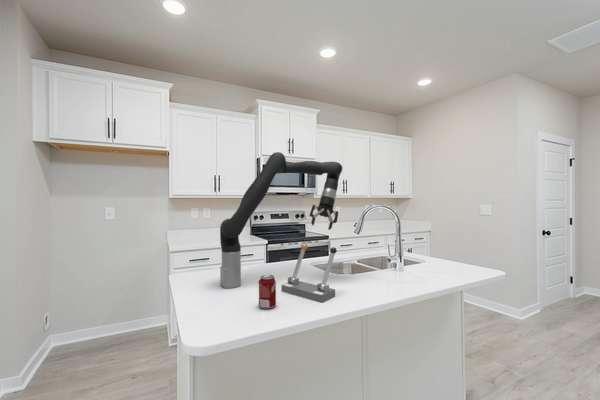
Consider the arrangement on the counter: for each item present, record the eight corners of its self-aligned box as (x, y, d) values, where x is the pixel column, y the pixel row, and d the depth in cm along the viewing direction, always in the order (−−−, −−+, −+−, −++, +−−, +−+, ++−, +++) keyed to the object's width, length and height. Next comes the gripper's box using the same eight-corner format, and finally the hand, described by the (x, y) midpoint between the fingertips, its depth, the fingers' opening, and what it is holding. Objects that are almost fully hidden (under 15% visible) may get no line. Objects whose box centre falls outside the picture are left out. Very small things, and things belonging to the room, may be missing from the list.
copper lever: (291, 283, 134) (304, 244, 142) (296, 284, 132) (309, 245, 140) (288, 281, 132) (301, 242, 140) (293, 282, 130) (305, 243, 138)
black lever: (321, 290, 123) (333, 248, 131) (326, 291, 121) (338, 249, 129) (317, 288, 121) (329, 245, 129) (323, 289, 119) (335, 246, 127)
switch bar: (295, 286, 138) (295, 274, 138) (335, 296, 124) (335, 283, 124) (281, 291, 131) (281, 279, 130) (322, 302, 116) (322, 288, 116)
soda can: (268, 311, 108) (268, 279, 108) (255, 307, 111) (255, 277, 111) (279, 305, 113) (279, 275, 113) (266, 302, 117) (265, 273, 117)
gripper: (339, 203, 151) (333, 232, 146) (314, 196, 151) (306, 225, 146) (342, 199, 144) (335, 229, 139) (315, 192, 144) (308, 222, 139)
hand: (320, 227), depth 143 cm, fingers open, 8 cm apart
